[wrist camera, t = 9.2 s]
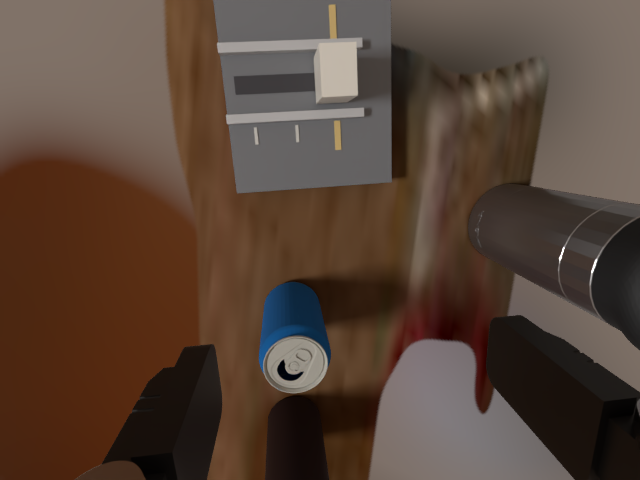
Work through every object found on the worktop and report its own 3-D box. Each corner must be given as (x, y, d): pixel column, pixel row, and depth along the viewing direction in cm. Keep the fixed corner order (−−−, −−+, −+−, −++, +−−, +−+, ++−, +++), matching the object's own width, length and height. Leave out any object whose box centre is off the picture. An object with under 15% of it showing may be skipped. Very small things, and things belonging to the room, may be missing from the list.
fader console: (383, -6, 34) (394, -22, 31) (385, 179, 39) (394, 183, 36) (216, -2, 33) (209, -18, 30) (239, 190, 38) (235, 194, 34)
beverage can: (253, 310, 42) (242, 374, 30) (286, 269, 41) (287, 318, 29) (297, 338, 43) (303, 409, 32) (329, 298, 42) (347, 356, 31)
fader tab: (345, 56, 33) (356, 41, 28) (347, 102, 34) (357, 95, 29) (313, 58, 33) (319, 43, 28) (316, 104, 34) (321, 97, 29)
